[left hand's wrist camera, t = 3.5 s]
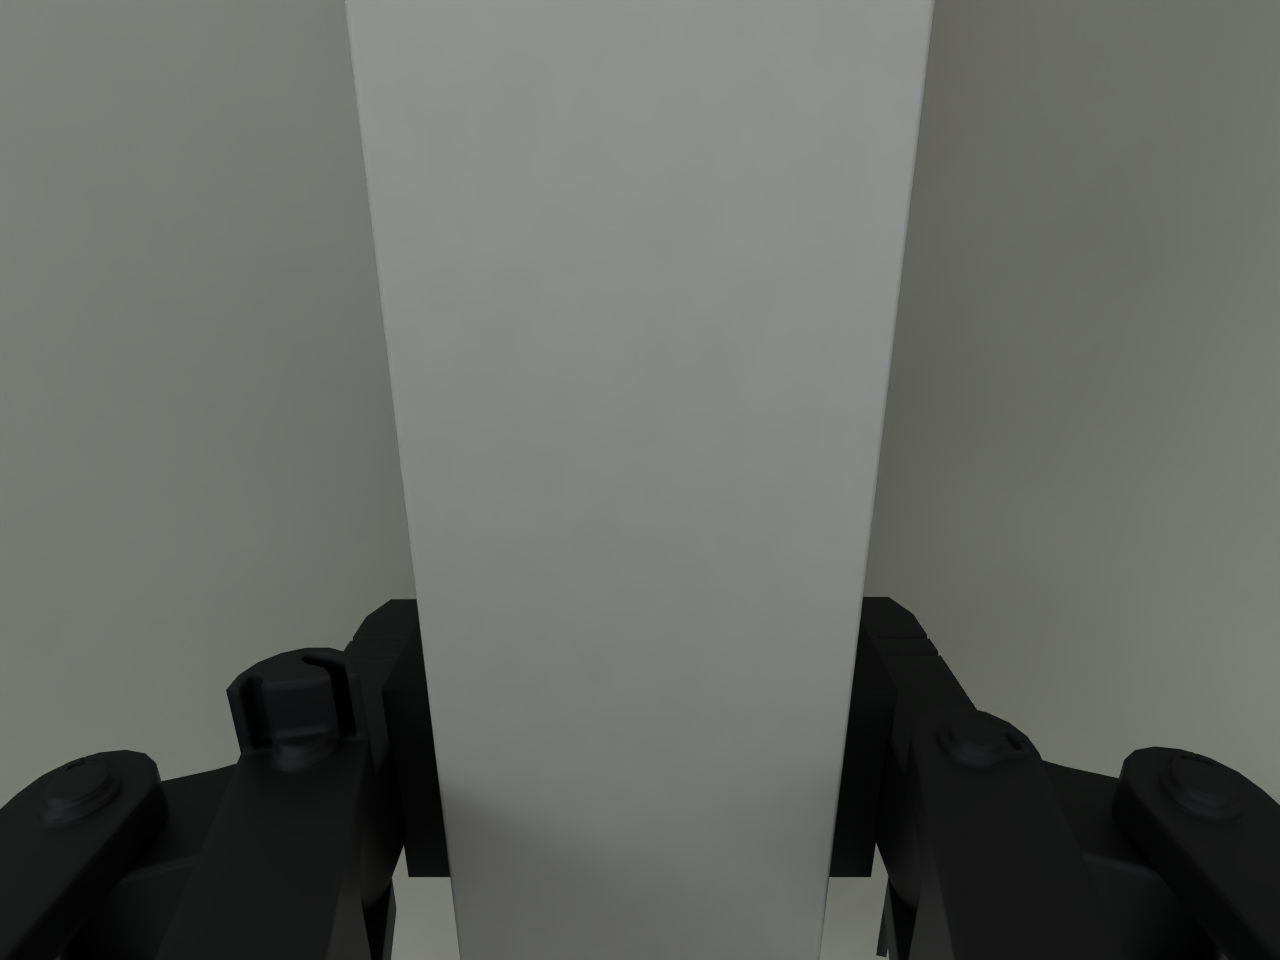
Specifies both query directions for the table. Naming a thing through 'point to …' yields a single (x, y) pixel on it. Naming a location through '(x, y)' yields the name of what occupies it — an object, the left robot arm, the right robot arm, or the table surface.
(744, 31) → the bar
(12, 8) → the table surface
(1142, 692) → the table surface
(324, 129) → the table surface
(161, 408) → the table surface
